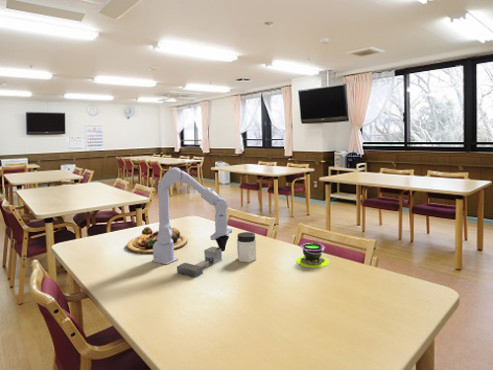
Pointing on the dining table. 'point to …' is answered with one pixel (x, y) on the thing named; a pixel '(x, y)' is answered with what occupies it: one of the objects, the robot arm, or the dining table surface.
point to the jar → (246, 247)
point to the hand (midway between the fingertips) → (222, 250)
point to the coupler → (192, 269)
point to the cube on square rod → (213, 254)
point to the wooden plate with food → (153, 241)
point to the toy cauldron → (312, 256)
